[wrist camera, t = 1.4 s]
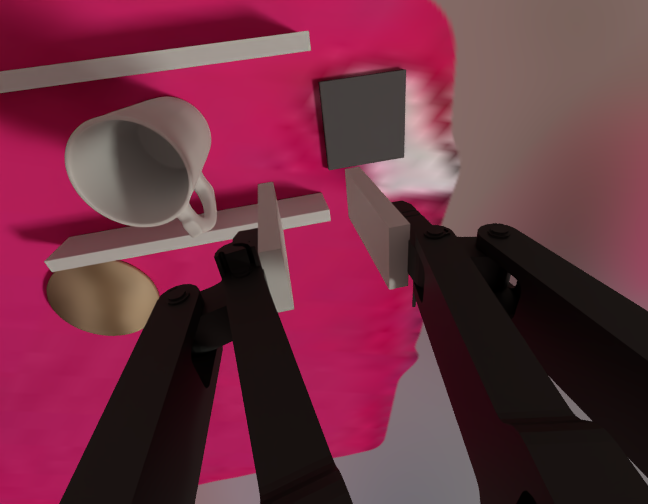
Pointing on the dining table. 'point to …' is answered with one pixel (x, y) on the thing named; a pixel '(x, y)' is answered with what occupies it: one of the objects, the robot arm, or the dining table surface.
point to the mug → (144, 164)
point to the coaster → (103, 297)
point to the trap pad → (364, 118)
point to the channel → (172, 233)
